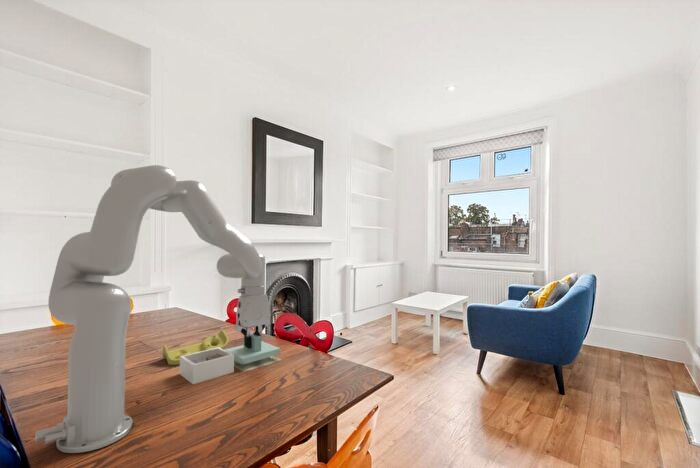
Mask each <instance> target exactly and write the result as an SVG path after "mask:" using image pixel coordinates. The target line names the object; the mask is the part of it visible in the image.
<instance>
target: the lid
mask: <svg viewBox="0 0 700 468" xmlns="http://www.w3.org/2000/svg"><path fill="white" fill-rule="evenodd" d="M250 336H252V344H251V348H250V349H249V348H247V347H245V345H244V344H243V345H239V346H238V345H237V346H233V347H230V348H224V350H226V351H228V352H230V353H232V354H233V355H234V361H236V362H238V363H240V364H241V365H243V364H246V363H250V362H253V361H257V360H260V359H264V358H267V357H271V356H277V355H281V348H280V347H278V346H275V345H272V344H271V343H268V342H265V341H263V340H262V336H261V337H260V336H258V335H255V334H254V332H253V333H252V332H250Z"/></svg>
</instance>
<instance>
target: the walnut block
mask: <svg viewBox="0 0 700 468" xmlns="http://www.w3.org/2000/svg"><path fill="white" fill-rule="evenodd" d="M220 357H223V356H221V355H219V354H218V355H214V356H210V357H206V361H208V360H212V359H216V358H220Z"/></svg>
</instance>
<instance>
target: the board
mask: <svg viewBox="0 0 700 468" xmlns="http://www.w3.org/2000/svg"><path fill="white" fill-rule="evenodd" d="M282 361H283V359H281V358H279V357H277V356H276V355H274V356H271V357H267V358H264V359H260V360H257V361H253V362H250V363H246V364H243V365H241V364H240V363H238V362H236V361H234V369H237V370H238V371H240V372H241V373H246V372H248V371H253V370H256V369H259V368H262V367H266V366H269V365H273V364H275V363H276V364H277V363H279V362H282Z"/></svg>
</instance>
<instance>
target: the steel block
mask: <svg viewBox="0 0 700 468" xmlns="http://www.w3.org/2000/svg"><path fill="white" fill-rule="evenodd" d="M204 361H206V360H205V359H203V358H202V359H198V360H194V361H192V362H193V363H195V364H196V363H200V362H204Z"/></svg>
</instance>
